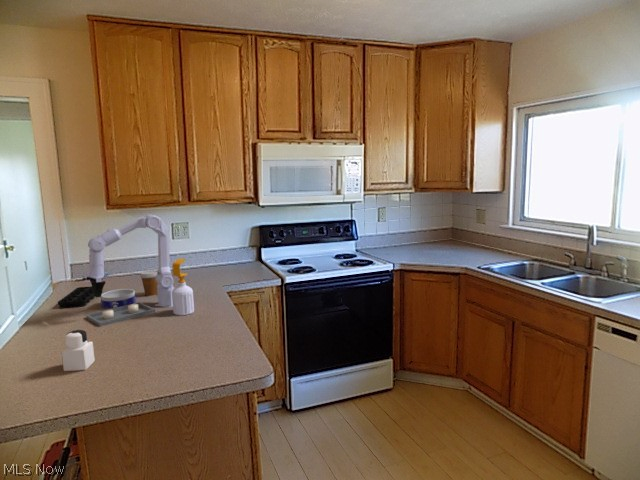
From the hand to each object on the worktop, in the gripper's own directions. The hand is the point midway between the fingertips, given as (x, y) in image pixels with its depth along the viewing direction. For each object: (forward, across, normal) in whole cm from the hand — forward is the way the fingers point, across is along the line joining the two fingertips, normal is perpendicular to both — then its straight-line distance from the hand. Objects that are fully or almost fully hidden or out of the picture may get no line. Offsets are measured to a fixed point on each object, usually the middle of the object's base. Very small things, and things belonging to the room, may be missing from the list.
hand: (97, 294), depth 196 cm
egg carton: (+11, -36, -3) cm, 38 cm away
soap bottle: (+8, +17, +33) cm, 38 cm away
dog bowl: (+10, -15, +11) cm, 21 cm away
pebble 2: (+8, +4, +14) cm, 17 cm away
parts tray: (+9, +5, +9) cm, 14 cm away
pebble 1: (+9, +6, +4) cm, 12 cm away
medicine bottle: (+11, +52, -11) cm, 55 cm away
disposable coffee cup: (+8, -23, +28) cm, 37 cm away
